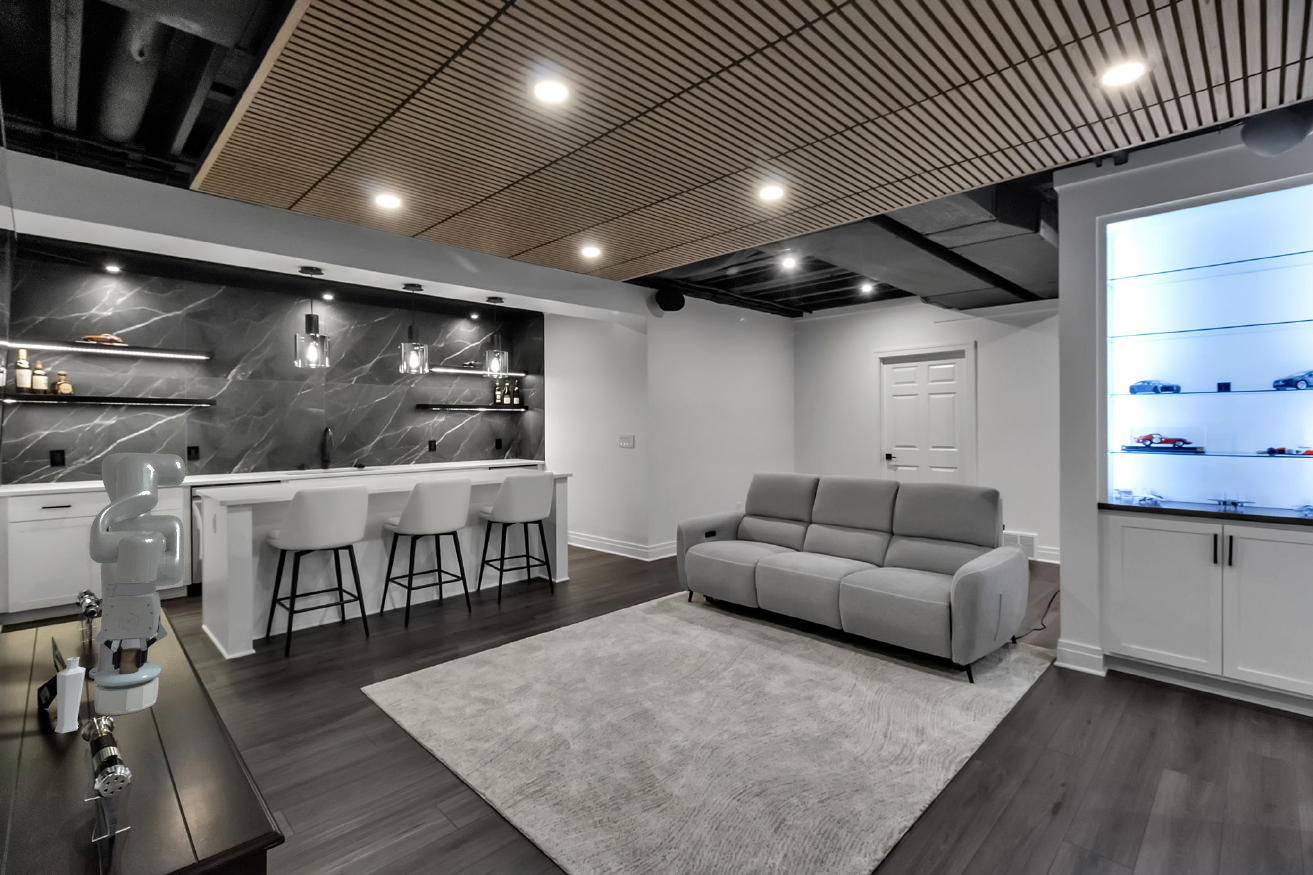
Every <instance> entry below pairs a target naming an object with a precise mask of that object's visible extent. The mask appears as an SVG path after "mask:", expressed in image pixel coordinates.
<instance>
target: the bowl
mask: <svg viewBox="0 0 1313 875" xmlns="http://www.w3.org/2000/svg"><path fill="white" fill-rule="evenodd" d="M159 683H160V678H159V676H157V677H156V678H154V679H151V680H148V681H145V682H141V683H137V684H131V685H124V686H101V685H97V684H96V686H95V692H94V701H93V702H94V704H93V705H94V706H93V707H94V713H95V714H96V715H100V716H104V717H105V716H106V717H107V716H109V717H110V716H123V715H129V714H134V713H137V712H140V711H144V710H147V709H149V708H151V707H152V706H154V705H156V703H157V698H158V694H159Z"/></svg>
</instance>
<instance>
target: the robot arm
mask: <svg viewBox="0 0 1313 875" xmlns="http://www.w3.org/2000/svg"><path fill="white" fill-rule="evenodd" d="M186 470H187V469H186V465H185V461H184V460H183V458H182V457H181V456H180V455H178V454H174V453H157V452H156V453H153V452H152V453H151V452H149V453H147V452H115V453H112V454H108V455H106V456H105V457H104V458H103V460H102V462H101V478H102V482H103V486H104V488H105V492H106V494H107V496H108V498H109V501H110V503H109V504H107V505H106V506H105V507H103V508H102V509H101V510H100V511H99V513H98V514H97V515H96V516H95V517H94V519H93V521H92V522H91V523H92V524H91V527H90V532H89V533H90V534H89V556H90V558H91V559H92V561H93V562H94V563H98V564H101V566H100V579H101V588H102V591H101V592H102V601H101V602H102V606H101V620H100V631H99V632H98V633H97V635H96V636H95V637H94V642H97V643H99V645H98V656H97V657H98V658H97V666H95V667H93V668H91V669H90V670H89V672H88V676H89V678H90V679H93V680H95V675H96V674H97V673H98V672H100V671H103V670H105V669H108V668H112V667H114V670H117V669H119V666H120V653H121V650H124V649H128V648H140V650H139V651H138V652H137V663H136V668H141V667H142V666H143V665H144V663H151V662H150V661H148V655H149V648H150V647H151V646H152V645H154V644H155V643H156V642H158V641H160V640H161V641H162V639H164V638H166V637H167V636H168V635H169V634H168V632H167V631H166V628H165V627H164V626H163V624H162V608H161V606H162V605H161V598H160V593H159V592H158V591H157V590H156V589H157V587H164V586H165V587H169V586H173V585H174V586H175V585H176V584H178V583H180V582H181V581H182V579H183V578H184V574H185V531H184V524H183V522H182V519H181V518H180V517H178V516H176V515H171V514H169V515H168V514H167V515H162V514H160V515H159V514H157V515H155V514H154V515H153V514H151V511H152V510H154V509H155V508H156V507H157V505H158V503H159V493H158V492H159V489H158V487H161V486H162V487H165V486H166V487H167V486H168V487H169V486H170V487H171V486H173V487H174V486H175V487H176V486H180V485H182V484H183V482H184V480H185V477H186ZM108 528H110V529H109V531H106V530H108Z"/></svg>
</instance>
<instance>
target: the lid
mask: <svg viewBox="0 0 1313 875" xmlns="http://www.w3.org/2000/svg"><path fill="white" fill-rule="evenodd" d="M139 650H140V648H128V649H124V650H121V653H120V666H119V669H117V670H114V667H112V668H108V669H105V670H103V671H100V672H98V673H97V674H96V675H95V679H94V681H93V682H94V684H95V685H96V686H97V685H101V686H124V685H131V684H137V683H141V682H145V681H148V680H151V679H154V678H156V677H159V676H160V675H161V673H162V666H161V665H160V664H157V663H153V662H150V663H144V665H143V666H142V667H141V668H136V663H137V652H138V651H139Z"/></svg>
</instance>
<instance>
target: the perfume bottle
mask: <svg viewBox="0 0 1313 875" xmlns="http://www.w3.org/2000/svg"><path fill="white" fill-rule="evenodd" d="M80 658H81V657H80V656H72V657H68V658H66V659H65V660H66V668H64V669H63V670H60V671H58V672H56V692H57V693H56V696H57V697H56V699H57V700H56V701H57V703H56V704H57V705H56V706H57V724H56V727H55V728H54V729H55V730H54V733H55V732H56V733H58V734H65V733H69V732H74V731H78V728H79V727H78V725H79V721H78V717H79V711H80V705H81V699H82V692H83V686H84V681H85V675H86V670H87V669H86V668H85V667H83V666H82V667H81V666H79V661H80ZM79 726H80V725H79Z"/></svg>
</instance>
